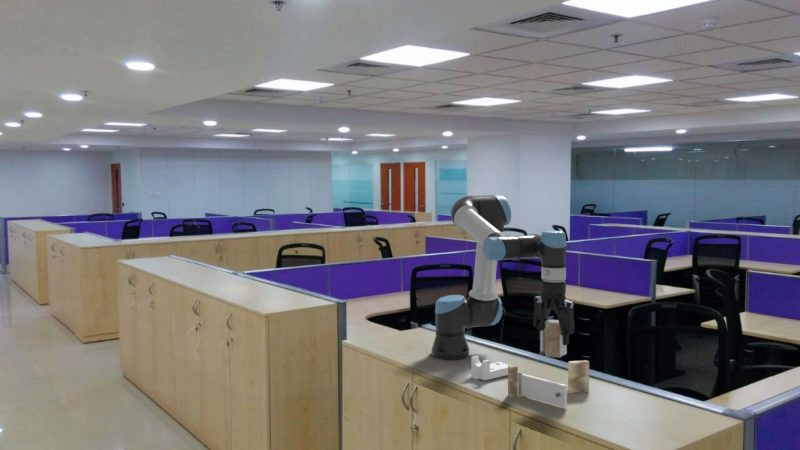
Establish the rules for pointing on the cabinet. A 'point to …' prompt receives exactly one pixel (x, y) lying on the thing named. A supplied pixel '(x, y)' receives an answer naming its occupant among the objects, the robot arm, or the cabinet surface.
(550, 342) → the box
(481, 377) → the bracket
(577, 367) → the door frame
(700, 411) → the cabinet surface
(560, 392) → the door
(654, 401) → the cabinet surface
